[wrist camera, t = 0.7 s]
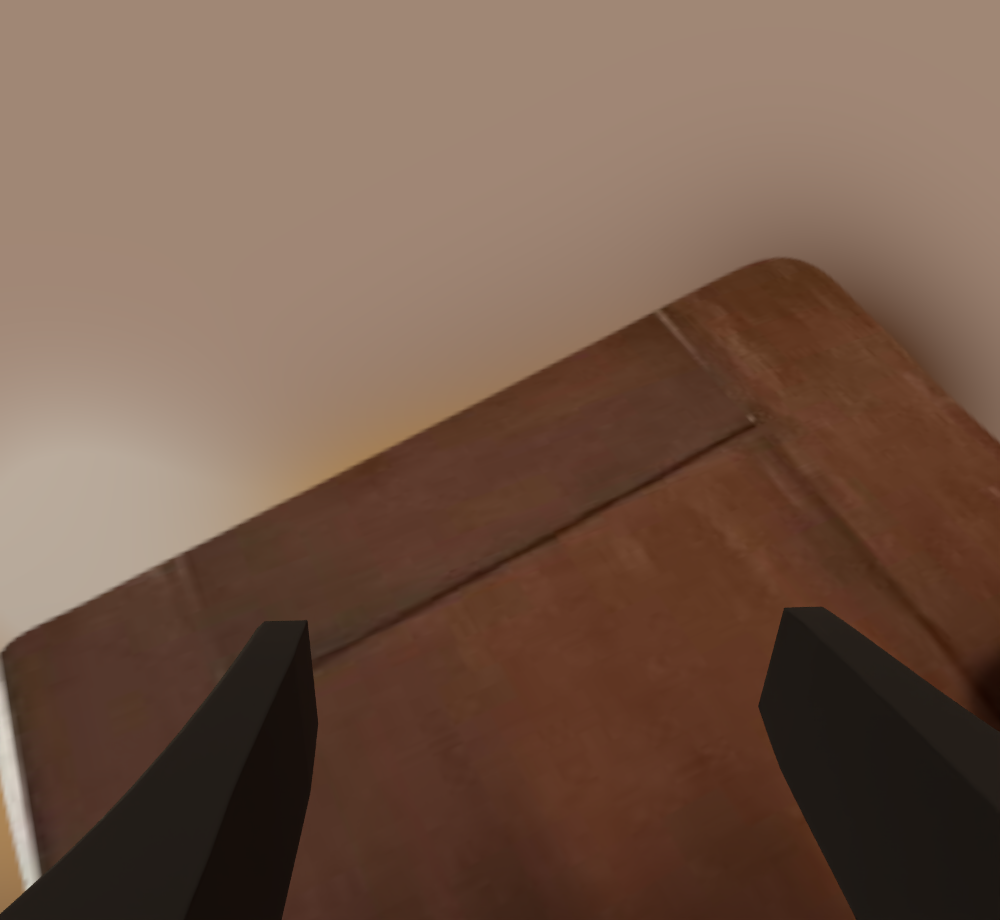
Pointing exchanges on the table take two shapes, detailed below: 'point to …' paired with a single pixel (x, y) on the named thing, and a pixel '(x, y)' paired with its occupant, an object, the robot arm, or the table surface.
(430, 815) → the table surface
